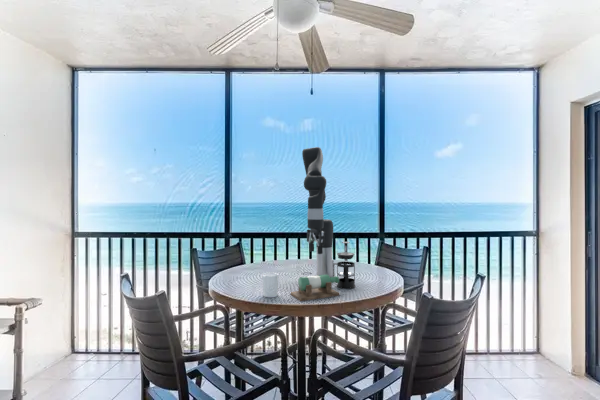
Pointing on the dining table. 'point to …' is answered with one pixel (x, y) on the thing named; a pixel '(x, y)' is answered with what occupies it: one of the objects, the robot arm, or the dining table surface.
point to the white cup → (270, 284)
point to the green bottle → (316, 281)
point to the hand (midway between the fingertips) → (315, 252)
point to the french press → (345, 270)
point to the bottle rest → (315, 292)
